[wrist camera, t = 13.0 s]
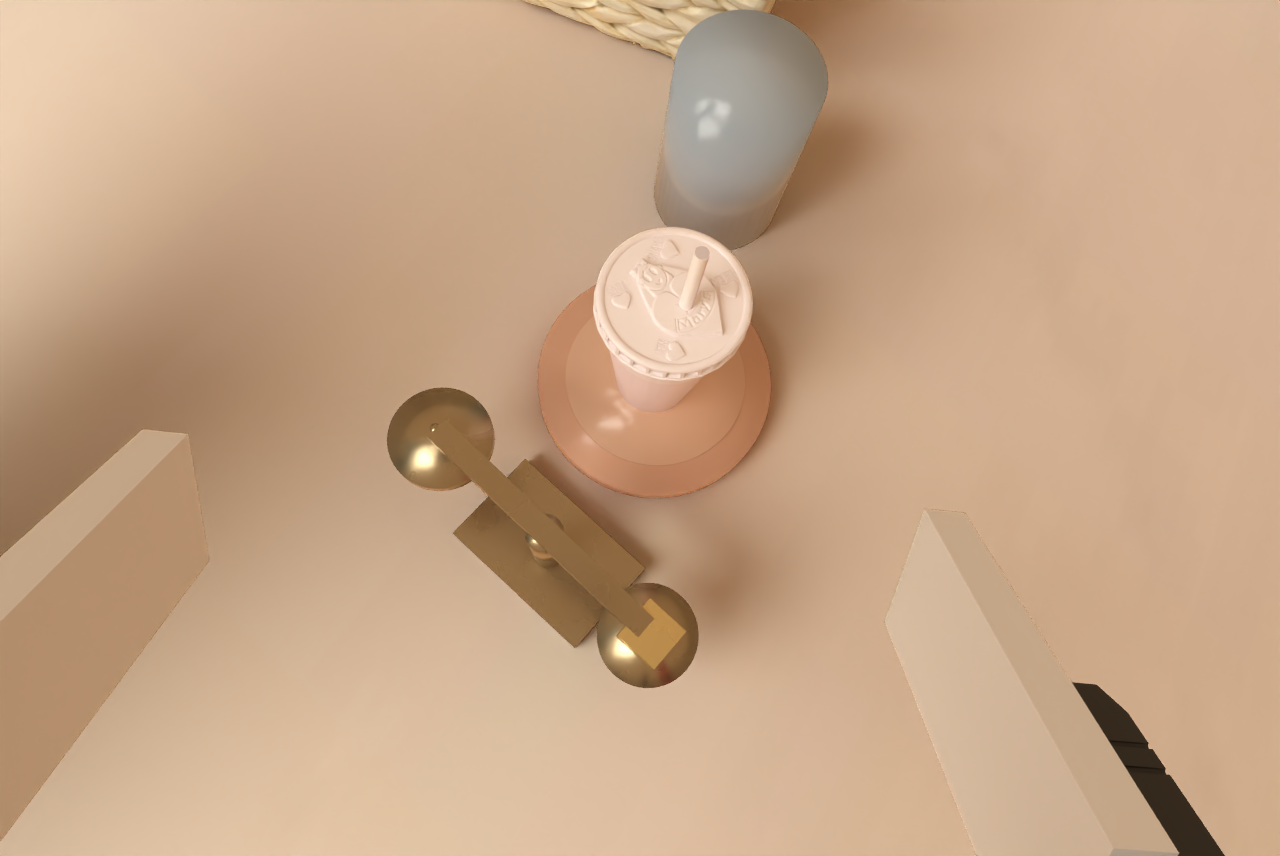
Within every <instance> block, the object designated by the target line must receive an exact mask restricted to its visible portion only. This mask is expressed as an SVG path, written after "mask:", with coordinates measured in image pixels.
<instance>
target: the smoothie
mask: <svg viewBox="0 0 1280 856" xmlns="http://www.w3.org/2000/svg"><path fill="white" fill-rule="evenodd" d="M752 309H753V297H752V290H751V286H750V282H749V279H748V277H747V274H746V272H745V270H744V269H743V267H742V265H741V264H740V262H739V261H738V259H737V258H736V257H735V256H734V255H733V254H732V253H731V252H730V251H729V250H728V249H727V248H726V247H725V246H724V245H723V244H721V243H720V242H718V241H717V240H715V239H713V238H712V237H710V236H708V235H706V234H703V233H701V232H698V231H695V230H691V229H686V228H680V227H661V228H655V229H650V230H646V231H643V232H641V233H638V234H636V235H634V236H632V237H630V238H629V239H627V240H625V241H624V242H623V243H621V244H620V245H619V246H618V247H617V248H616V249H615V250H614V251H613V252H612V253H611V254H610V255H609V257H608V258H607V260H606V261H605V263H604V265H603V266H602V268H601V271H600V273H599V276H598V280H597V284H596V288H595V291H594V303H593V313H594V317H595V321H596V326H597V330H598V332H599V334H600V335H601V337H602V339H603V341H604V343H605V345H606V346H607V348H608V349H609V350H610V355H611V359H612V363H613V368H614V372H615V377H616V381H617V385H618V388H619V391H620V393H621V395H622V396H623V398H624V399H625V400H626V401H627V402H628V403H629V404H630V405H632V406H633V407H635V408H637V409H639V410H642V411H645V412H662V411H665V410H668V409H670V408H672V407H674V406H675V405H676V404H677V403H679V402H680V400H681V399H682V398H683V397H684V396H685V395H686V394H687V393H688V392H689V391H690V390H691V389H692V388H693V387H694V386H695V385H696V384H697V383H698V382H699V381H700V379H701V378H702V377H703V376H704V375H706V374H708V373H710V372H713V371H715V370H717V369H719V368H720V367H721V366H722V365H723V364H725V363H726V362H727V361H728V360H729V359H730V358H731V357H732V356H734V354H735V353H736V351H737V350H738V348H739V347H740V345H741V343H742V342H743V340H744V338H745V335H746V331H747V329H748V327H749V324H750V321H751V316H752Z"/></svg>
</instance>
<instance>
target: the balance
mask: <svg viewBox="0 0 1280 856" xmlns="http://www.w3.org/2000/svg"><path fill="white" fill-rule="evenodd" d="M494 441H495V437H494V429H493V425H492V422H491V420H490V417H489V415H488V413H487V411H486V410H485V408H484V407H483V406H482V405H481V404H480V402H479V401H477V400H476V399H475V398H474V397H472V396H471V395H469V394H467V393H465V392H463V391H460V390H457V389H452V388H433V389H429V390H425V391H423V392H420V393H418V394H416V395H414V396H413V397H411V398H409V399H408V400H407V401H406V402H405V403H403V405H402V406H401V407H400V408H399V409H398V410H397V412H396V413H395V415H394V417H393V418H392V421H391V423H390V426H389V430H388V437H387V445H388V451H389V455H390V458H391V460H392V462H393V464H394V465H395V467H396V468H397V470H398V471H399V472H400V473H401V474H402V475H403V476H404V477H405V478H406V479H407V480H408V481H410V482H411V483H413V484H415V485H417V486H419V487H421V488H424V489H428V490H434V491H446V490H452V489H456V488H459V487H461V486H464V485H466V484H468V483H469V482H471V481H472V482H474V483H475V484H476V485H477V486H478V487H479V488H480V489H481V490H482V491H483V492H484V493H485V494H486V495H487V496H488V498H487V499H486V500H485V501H484V502H483V503H482V504H481V505H480V506H479V507H478V508H477V509H476V510H475V511H474V512H473V513H472V514H471V515H470V516H469V517H468V518H467V519H466V520H465V521H464V522H463V523H462V524H461V525H460V526H459V527H458V528H457V529H456V530H455V532H454V533H453V534H454V535H455V536H456V537H457V538H458V539H459V540H460V541H461V542H463V543H464V544H465V545H466V546H467V547H468V548H469V549H470V550H471V551H472V552H473V553H474V554H475V555H476V556H477V557H478V558H480V559H481V560H482V561H483V562H484V563H485V564H486V565H487V566H488V567H489V568H490V569H491V570H492V571H493V572H494V573H495V574H497V575H498V576H499V577H500V578H501V579H502V580H503V581H504V582H505V583H506V584H507V585H508V586H509V587H510V588H511V589H513V590H514V591H515V592H516V593H517V594H518V595H519V596H520V597H521V598H522V599H523V600H524V601H525V602H526V603H527V604H528V605H530V606H531V607H532V608H533V609H534V610H535V611H536V612H537V613H538V614H539V615H540V616H541V617H542V618H543V619H544V620H545V621H547V622H548V623H549V624H550V625H551V626H552V627H553V628H554V629H555V630H556V631H557V632H558V633H559V634H560V635H561V636H563V637H564V638H565V639H566V640H567V641H568V642H569V643H570V644H571V645H572V646H573V647H574V648H575V647H576V646H577V645H578V644H579V643H580V642H581V641H582V639H583V638H584V637H585V636H586V635H587V634H588V633H589V631H590V630H591V629H592V628H593V627H594V626H595V625H596V624H597V622H598V621H599V622H598V628H597V644H598V648H599V652H600V655H601V657H602V659H603V661H604V663H605V665H606V666H607V667H608V669H609V670H610V671H611V672H612V673H613V674H614V675H615V676H616V677H618V678H619V679H620V680H622V681H624V682H625V683H628V684H630V685H633V686H636V687H642V688H654V687H660V686H663V685H666V684H668V683H671V682H672V681H674V680H676V679H677V678H678V677H679V676H681V675H682V674H683V673H684V672H685V671H686V670H687V668H688V667H689V665H690V664H691V662H692V660H693V658H694V656H695V653H696V650H697V646H698V626H697V621H696V618H695V616H694V613H693V611H692V609H691V607H690V606H689V604H688V603H687V602H686V601H685V600H684V598H683V597H682V596H680V595H679V594H678V593H677V592H675V591H674V590H672V589H670V588H668V587H666V586H663V585H660V584H654V583H641V584H636V585H632V586H630V585H631V584H632V583H633V582H634V581H635V579H636V578H637V577H638V576H639V575H640V574H641V573H642V572H643V570H644V569H645V567H644V566H642V565H641V564H640V563H639V562H638V561H637V560H636V559H635V558H634V557H633V556H631V555H630V554H629V553H628V552H627V551H626V550H625V549H624V548H623V547H622V546H620V545H619V544H618V543H617V542H616V541H615V540H614V539H613V538H612V537H611V536H609V535H608V534H607V533H606V532H605V531H604V530H603V529H602V528H601V527H600V526H598V525H597V524H596V523H595V522H594V521H593V520H592V519H591V518H590V517H589V516H587V515H586V514H585V513H584V512H583V511H582V510H581V509H580V508H579V507H578V506H576V505H575V504H574V503H573V502H572V501H571V500H570V499H569V498H568V497H567V496H565V495H564V494H563V493H562V492H561V491H560V490H559V489H558V488H557V487H556V486H554V485H553V484H552V483H551V482H550V481H549V480H548V479H547V478H546V477H545V476H543V475H542V474H541V473H540V472H539V471H538V470H537V469H536V468H535V467H534V466H532V465H531V464H530V463H529V462H528V461H527V460H526V459H525V460H524V461H523V462H522V463H521V464H520V465H519V466H518V467H517V468H516V469H515V470H514V471H513V472H512V473H511V474H510V475H509V476H508V477H505V476H504V475H503V474H502V473H501V472H500V471H499V470H498V469H497V468H496V467H495V466H494V465H493V464H492V463H491V462H490V461H489V460H490V458H491V456H492V453H493V449H494Z"/></svg>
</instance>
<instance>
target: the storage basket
mask: <svg viewBox="0 0 1280 856" xmlns="http://www.w3.org/2000/svg"><path fill="white" fill-rule="evenodd" d="M523 1H525V2H528V3H531V4H534V5H538V6H542V7H546V8H549V9H551V10H553V11H554V12H556V13H558V14H560V15H563V16H565V17H568V18H570V19H573V20H576V21H579V22H582V23H585V24H588V25H593V26H594V27H595V28H597V29H598V30H599V31H601V32H603V33H605V34H607V35H610V36H612V37H615V38H618V39H623V40H626V41H631V42H633V45H635V43H639V44H640V45H641V47H644V48H646V49H649V50H650V49H653V50H656V51H659V52H661V53H663V54H666V55H668V56H671V57H672V59H673V60H675V58H676V54H677V51H678V48H679V46H680V44H681V42H682V40H683V39H684V37H685V36H686V35H687V33H688V32H689V31H690V30H691V29H692V28H693V27H694V26H696V25H697V24H698V23H700V22H701V21H703V20H704V19H706V18H708V17H710V16H713V15H715V14H718V13H722V12H725V11H731V10H744V9H745V10H757V11H762V12H766V13H770V12H771V10H772V8H773V5H774V3H775V1H776V0H523Z"/></svg>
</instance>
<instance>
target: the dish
mask: <svg viewBox="0 0 1280 856" xmlns="http://www.w3.org/2000/svg"><path fill="white" fill-rule="evenodd" d="M595 288H596V285H595V286H593V287H591V288H590V289H588V290H587V291H585V292H584V293H582V294H581V295H579V296H578V297H577V298H576V299H575V300H574V301H572V302H571V303H570V304H569V305H568V306H567V307H566V309H565V310H564V311H563V312H562V313H561V314H560V315H559V317H558V318H557V320H556V321H555V323H554V324H553V326H552V327H551V329H550V331H549V333H548V335H547V337H546V340H545V343H544V346H543V349H542V352H541V356H540V361H539V366H538V390H539V399H540V405H541V409H542V414H543V418H544V420H545V423H546V426H547V428H548V431H549V433H550V435H551V436H552V438H553V440H554V442H555V444H556V445H557V447H558V448H559V449H560V451H561V452H562V453H563V455H564V456H565V457H566V458H567V459H568V460H569V461H570V462H571V463H572V464H573V465H574V466H575V468H577V469H578V470H579V471H581V472H582V473H583V474H584V475H586V476H587V477H588V478H590V479H592V480H593V481H595V482H597V483H598V484H600V485H602V486H604V487H607V488H609V489H611V490H614V491H616V492H620V493H623V494H627V495H630V496H637V497H644V498H666V497H676V496H680V495H684V494H688V493H692V492H694V491H697V490H699V489H702V488H705V487H706V486H708V485H710V484H712V483H714V482H715V481H717V480H719V479H720V478H721V477H723V476H724V475H725V474H727V473H728V472H729V471H731V470H732V469H733V468H734V467H735V466H736V465H737V464H738V463H739V462H740V461H741V459H742V458H743V457H744V456H745V455H746V453H747V452H748V451H749V449H750V448H751V447H752V445H753V444H754V442H755V441H756V439H757V437H758V435H759V434H760V432H761V430H762V427H763V425H764V422H765V420H766V417H767V412H768V408H769V404H770V395H771V375H770V369H769V363H768V359H767V356H766V353H765V350H764V347H763V344H762V342H761V340H760V338H759V336H758V334H757V332H756V331H755V329H754V327H753V326H752V324H751V323H750V324H749V327H748V329H747V331H746V335H745V338H744V340H743V342H742V343H741V345H740V347H739V348H738V350H737V351H736V353H735V354H734V356H732V357H731V358H730V359H729V360H728V361H727V362H726V363H725V364H723V365H722V366H721V367H720V368H719V369H717V370H715V371H713V372H710V373H708V374H706V375H704V376H703V377H702V378H701V379H700V381H699V382H698V383H697V384H696V385H695V386H694V387H693V388H692V389H691V390H690V391H689V392H688V393H687V394H686V395H685V396H684V397H683V398H682V399H681V400H680V402H679V403H677V404H676V405H675V406H674V407H672V408H670V409H668V410H665V411H662V412H645V411H642V410H639V409H637V408H635V407H633V406H632V405H630V404H629V403H628V402H627V401H626V400H625V399H624V398H623V396H622V395H621V393H620V391H619V388H618V385H617V381H616V377H615V372H614V368H613V363H612V359H611V355H610V350H609V349H608V348H607V346H606V345H605V343H604V341H603V339H602V337H601V335H600V334H599V332H598V330H597V326H596V321H595V317H594V313H593V303H594V291H595Z"/></svg>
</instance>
